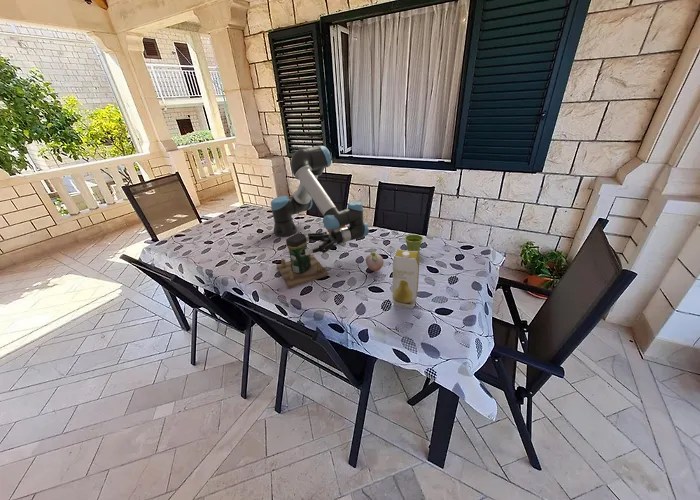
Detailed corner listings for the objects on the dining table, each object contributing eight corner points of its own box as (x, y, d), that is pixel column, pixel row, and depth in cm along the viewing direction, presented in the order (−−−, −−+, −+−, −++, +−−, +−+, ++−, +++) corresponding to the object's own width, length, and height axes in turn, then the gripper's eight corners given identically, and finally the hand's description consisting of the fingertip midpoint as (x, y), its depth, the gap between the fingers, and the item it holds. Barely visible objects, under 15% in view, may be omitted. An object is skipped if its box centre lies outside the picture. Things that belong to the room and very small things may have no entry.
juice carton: (391, 306, 109) (391, 254, 97) (395, 294, 115) (396, 244, 104) (414, 311, 105) (418, 257, 94) (417, 298, 112) (421, 247, 100)
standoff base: (276, 267, 141) (274, 257, 139) (312, 256, 149) (311, 247, 146) (289, 288, 124) (286, 277, 121) (328, 275, 132) (327, 264, 129)
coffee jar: (302, 262, 141) (296, 230, 133) (313, 266, 137) (308, 233, 128) (288, 271, 134) (282, 237, 126) (300, 275, 130) (294, 241, 122)
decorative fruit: (386, 273, 130) (386, 255, 125) (370, 277, 128) (369, 259, 123) (379, 264, 138) (378, 247, 133) (364, 267, 136) (363, 250, 131)
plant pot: (401, 253, 146) (401, 238, 142) (410, 246, 152) (411, 232, 148) (416, 258, 140) (417, 243, 136) (425, 251, 146) (426, 237, 142)
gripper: (352, 252, 130) (310, 264, 122) (331, 234, 150) (294, 244, 142) (351, 238, 127) (308, 250, 119) (329, 221, 147) (292, 231, 139)
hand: (300, 246), depth 131 cm, fingers open, 13 cm apart
